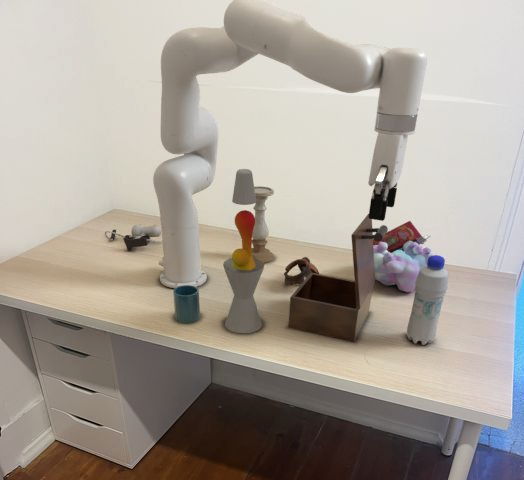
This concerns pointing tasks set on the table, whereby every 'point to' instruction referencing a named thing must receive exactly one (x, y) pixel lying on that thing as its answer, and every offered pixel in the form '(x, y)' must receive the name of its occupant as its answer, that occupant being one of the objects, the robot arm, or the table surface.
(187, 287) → the cup
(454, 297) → the table surface
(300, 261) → the pottery mug
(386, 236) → the iridescent bubble cluster
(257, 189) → the candle holder
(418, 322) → the bottle
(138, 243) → the clip-on lamp
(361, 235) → the lid
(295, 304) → the chest
